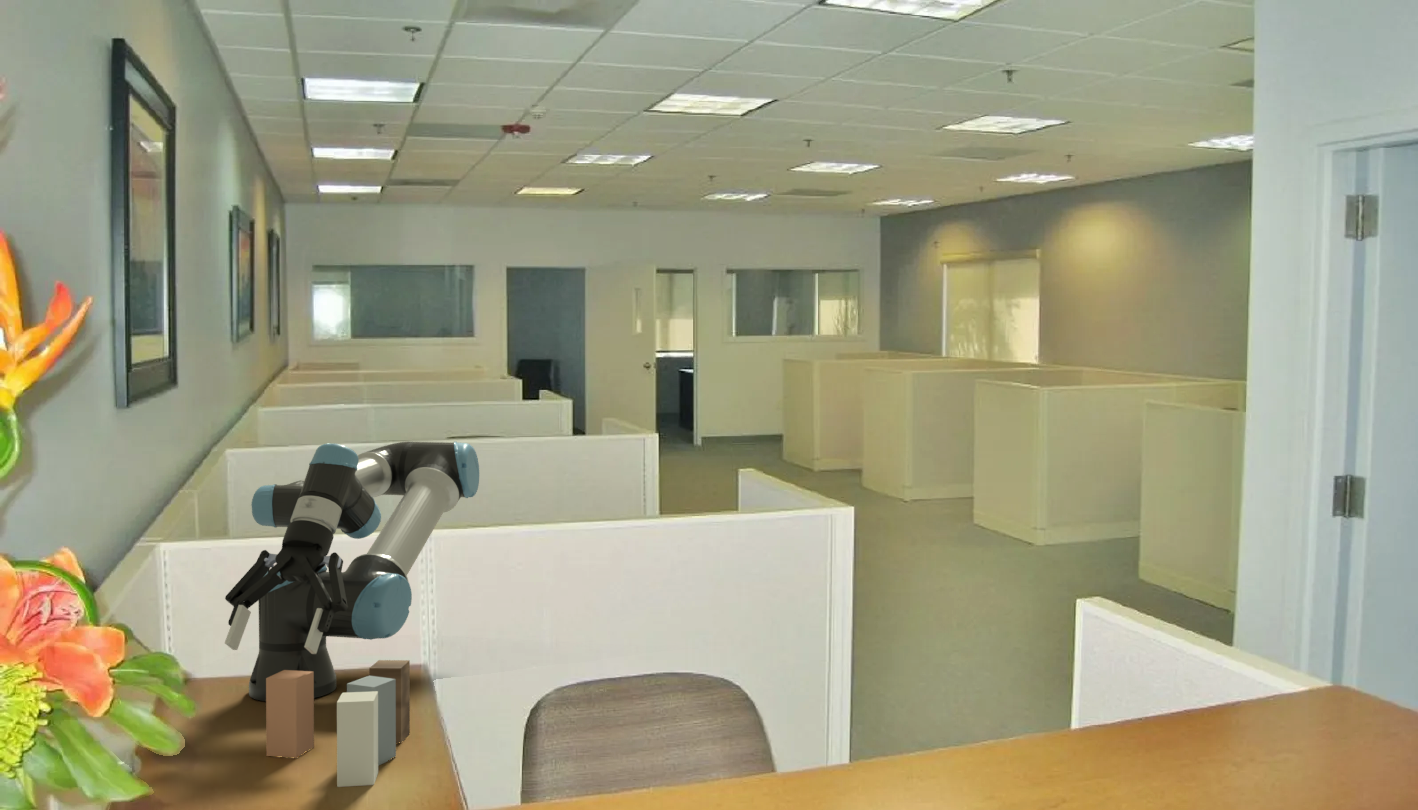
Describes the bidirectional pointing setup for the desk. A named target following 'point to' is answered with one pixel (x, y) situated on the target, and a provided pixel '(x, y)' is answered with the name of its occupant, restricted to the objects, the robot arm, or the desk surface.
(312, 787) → the desk surface
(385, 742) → the slate-grey block
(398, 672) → the walnut block
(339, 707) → the off-white block
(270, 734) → the terracotta block
